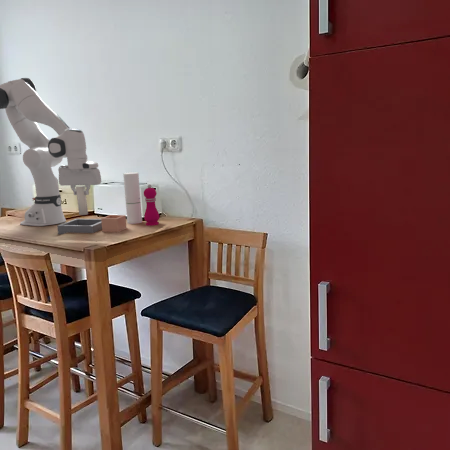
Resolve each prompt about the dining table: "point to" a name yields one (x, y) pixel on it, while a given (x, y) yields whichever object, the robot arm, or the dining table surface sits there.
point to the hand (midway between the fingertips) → (81, 194)
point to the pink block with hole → (113, 223)
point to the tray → (80, 226)
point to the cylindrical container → (132, 197)
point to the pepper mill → (151, 207)
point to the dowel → (81, 200)
